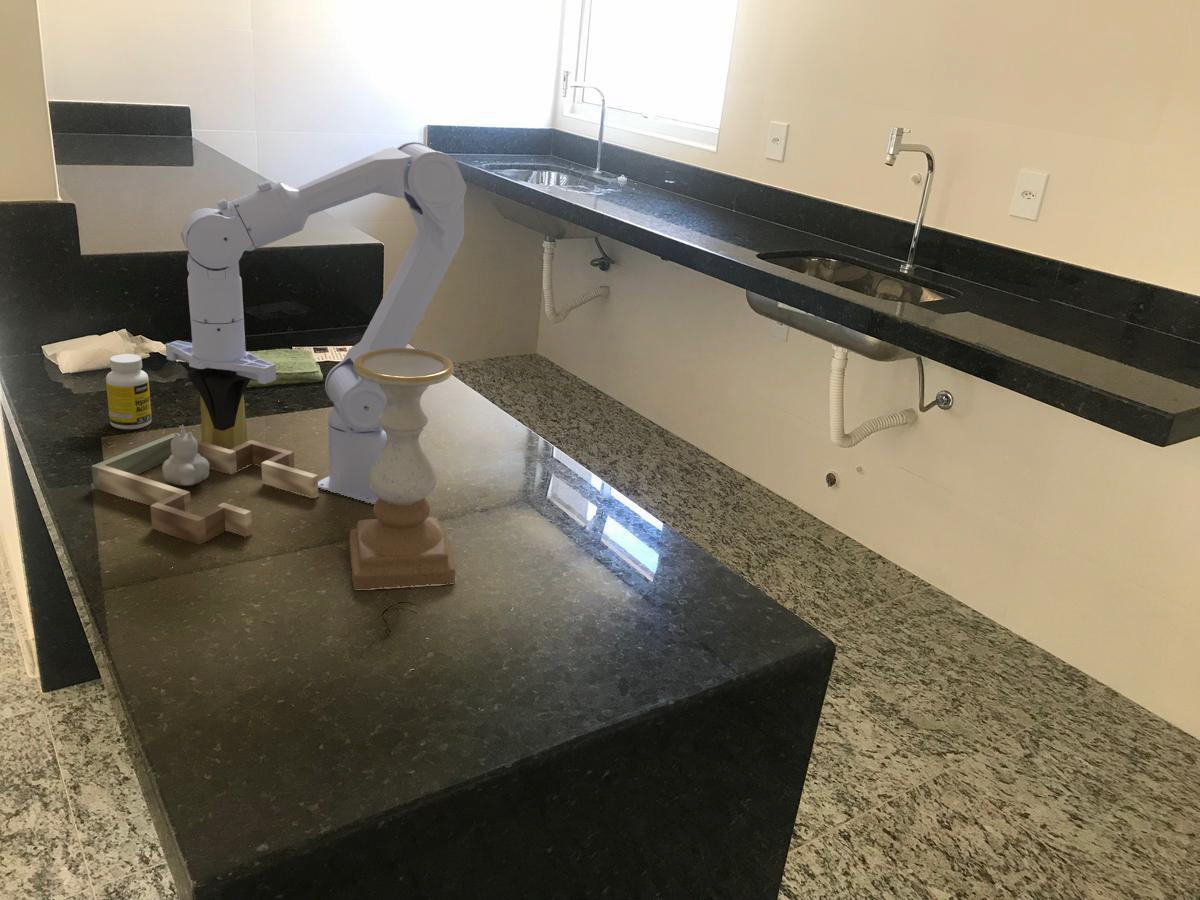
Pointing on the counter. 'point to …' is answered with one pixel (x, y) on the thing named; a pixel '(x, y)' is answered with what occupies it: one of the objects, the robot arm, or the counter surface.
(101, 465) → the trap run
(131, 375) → the supplement bottle
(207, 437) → the vase
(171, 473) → the white animal figurine
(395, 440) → the candle holder
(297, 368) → the washcloth
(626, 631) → the counter surface
